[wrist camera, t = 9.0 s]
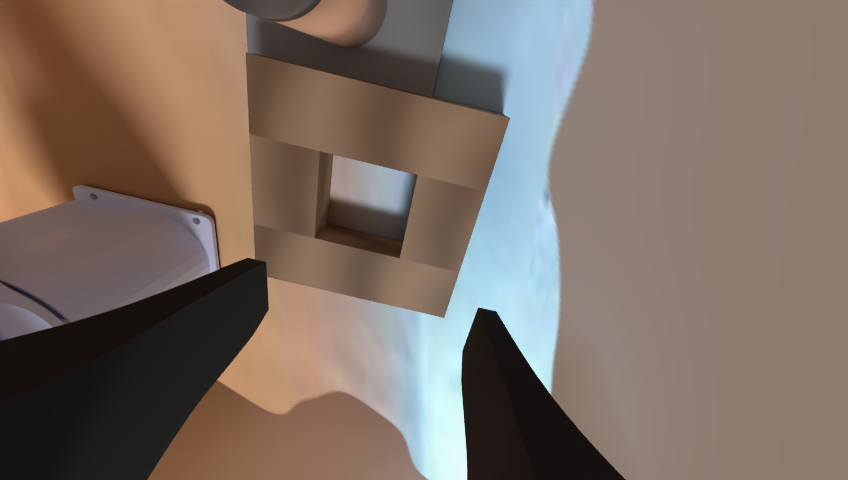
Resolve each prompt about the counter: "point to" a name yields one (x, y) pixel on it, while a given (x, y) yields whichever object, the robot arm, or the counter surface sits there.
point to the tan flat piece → (372, 143)
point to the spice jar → (323, 17)
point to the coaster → (368, 46)
